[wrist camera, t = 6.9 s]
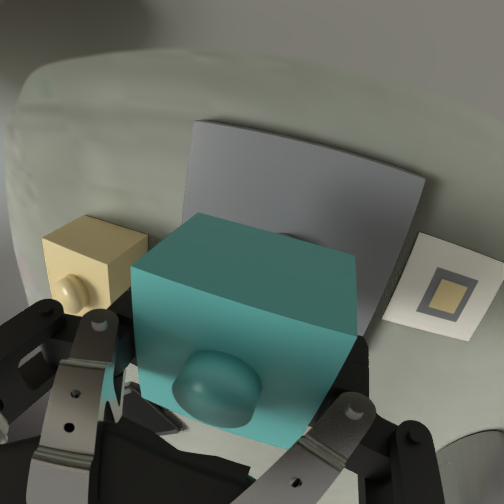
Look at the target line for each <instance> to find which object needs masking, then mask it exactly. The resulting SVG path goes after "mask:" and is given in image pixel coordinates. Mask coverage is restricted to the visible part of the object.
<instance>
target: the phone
mask: <svg viewBox="0 0 504 504" xmlns="http://www.w3.org/2000/svg"><path fill="white" fill-rule="evenodd" d="M157 405H158V404H155V403H153V402H151V401H149V400H147V399H144V398H142V396H141V389H140V385H138V384H137V383H134V382H127V383H125V386H124V396H123V407H122V416H123V417H125V418H127V419H129V420H131V421H133V422H135V423H137V424H140V425H142V426H144V427H146V428H148V429H150V430H152V431H153V432H154V433H156V434H157V435H158V436H160V435H168V434H175V433H178V432H179V431H180V429H181V427H182V424H181V423H180V422H179V421H178V420H177V419H176V418H175V417H174V416H172V415H171V414H170V413H169V412H168V411H167V410H166V409H165V408H163V407H162V406H160V405H159V406H160V407H161V408H162V409H163V410H164V411H162V410H161V409H159V408H158V407H157ZM173 419H174V420H173Z"/></svg>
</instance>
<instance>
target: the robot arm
mask: <svg viewBox="0 0 504 504" xmlns="http://www.w3.org/2000/svg"><path fill="white" fill-rule="evenodd" d="M39 345H40V348H41V352H39V353H38V354H36V355H35V356H34V357H33V358H31V359H30V360H29V361H27V362H26V363H25V364H23V365H22V366H21V367H20V368H18V365H19V362H20V360H21V359H22V358H23V357H25V356H26V355H27V354H28V353H30V352H31V351H33V350H34V349H35V348H37V347H38V346H39ZM368 357H369V353H368V345H367V343H366V341H365V339H364V337H363V336H360V335H357V339H356V341H355V343H354V345H353V347H352V349H351V351H350V352H349V354H348V356H347V358H346V360H345V362H344V364H343V366H342V368H341V370H340V371H339V373H338V375H337V377H336V379H335V381H334V382H333V384H332V386H331V388H330V389H329V391H328V393H327V395H326V396H325V398H324V400H323V402H322V403H321V405H320V407H319V408H318V410H317V412H316V413H315V415H314V417H313V418H312V420H311V422H310V423H309V425H308V426H311V427H312V428H311V429H310V430H309V431H308V432H307V433H306V435H304V436H301V437H300V438H299V439H298V440H297V441H296V442H295V443H294V444H293V445H292V446H291V447H290V448H289V449H288V450H287V452H286V453H285V454H284V455H283V456H282V457H281V458H280V459H279V460H278V461H277V462H275V463H274V464H273V465H272V466H271V467H270V468H269V469H268V470H267V471H266V472H265V473H264V474H263V475H262V476H261V477H260V478H259V479H258V480H256V479H255V478H253V477H251V476H249V475H248V473H249V470H250V467H249V466H246V465H243V464H239V463H236V462H233V461H230V460H227V459H224V458H221V457H218V456H211V455H204V454H197V453H190V452H184V451H180V450H178V449H176V448H175V447H173V446H172V445H171V444H169V443H168V442H166V441H165V440H164V439H162V438H161V437H160V436H158V435H157V434H156V433H154V432H153V431H152V430H150V429H148V428H146V427H144V426H142V425H140V424H137V423H135V422H133V421H131V420H129V419H127V418H125V417H123V416H122V407H123V396H124V386H125V377H126V370H125V368H126V367H127V366H128V365H129V363H131V364H134V365H136V366H138V365H137V356H136V347H135V336H134V324H133V309H132V292H131V286H130V287H129V288H128V290H126V291H125V292H124V293H123V294H122V295H121V296H120V297H119V298H118V299H117V300H115V301H114V302H113V303H112V304H111V305H110V306H109V307H108V308H107V309H100V308H99V309H93V310H90V311H88V312H87V313H85V314H84V315H83V316H76V315H70V314H65V313H64V309H63V306H62V304H61V303H60V302H59V301H57V300H54V299H43V300H40V301H38V302H36V303H34V304H33V305H31V306H30V307H28V308H27V309H25V310H24V311H22V312H20V313H19V314H17V315H16V316H14V317H13V318H11V319H10V320H9V321H7V322H5V323H4V324H2V325H1V326H0V504H316V503H317V502H318V500H319V499H320V498H321V497H322V496H323V494H324V493H325V492H326V491H327V489H328V488H329V487H330V486H331V484H332V483H333V482H334V480H335V479H336V478H337V477H338V475H339V474H340V473H341V471H342V470H343V468H346V469H348V470H350V471H352V472H354V473H356V474H358V492H359V504H504V434H503V433H502V432H499V431H487V432H482V433H477V434H474V435H471V436H467V437H465V438H463V439H460V440H458V441H456V442H454V443H452V444H450V445H448V446H446V447H445V448H443V449H442V450H440V451H439V452H438V453H436V452H435V448H434V443H433V439H432V436H431V433H430V431H429V430H428V428H427V427H426V426H425V425H423V424H422V423H420V422H418V421H414V420H408V421H404V422H402V423H401V424H400V425H399V426H398V425H395V424H393V423H391V422H389V421H387V420H385V419H383V418H382V417H380V416H379V415H378V414H377V413H376V408H375V405H374V404H373V402H372V401H371V400H370V399H369V367H368V366H369V359H368ZM51 388H52V390H51V395H50V398H49V402H48V406H47V410H46V415H45V419H44V424H43V428H42V433H41V435H39V436H35V437H31V438H27V439H23V440H18V441H14V442H10V443H6V442H7V440H8V435H7V432H8V425H9V424H11V423H12V422H13V421H14V420H15V419H16V418H17V417H18V416H20V415H21V414H22V413H23V412H24V411H25V410H27V409H28V408H29V407H30V406H31V405H32V404H33V403H35V402H36V401H37V400H38V399H39V398H40V397H42V396H43V395H44V394H45V393H46V392H48V391H49V390H50V389H51ZM4 443H5V444H4Z"/></svg>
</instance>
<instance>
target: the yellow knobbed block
mask: <svg viewBox="0 0 504 504" xmlns="http://www.w3.org/2000/svg"><path fill="white" fill-rule="evenodd" d="M42 241H43V249H44V255H45V262H46V268H47V273H48V279H49V284H50V289H51V294H52V298H53V299H54V300H57V301H59V302H60V303H61V304H62V306H63V309H64V313H65V314H70V315H76V316H83V315H84V314H85V313H87V312H88V311H90V310H93V309H99V308H100V309H107V308H108V307H109V306H110V305H111V304H112V303H113V302H114V301H115V300H117V299H118V298H119V297H120V296H121V295H122V294H123V293H124V292H125V291H126V290H128V288H129V287H130V286H131V265H133V264H134V263H135V262H136V261H137V260H139V259H140V258H141V257H142V256H144V255H145V254H146V253H147V252H148V235H146V234H143V233H140V232H137V231H134V230H130V229H127V228H124V227H121V226H117V225H114V224H111V223H108V222H105V221H101V220H98V219H95V218H92V217H89V216H86V215H83V216H82V217H80V218H78V219H76V220H74V221H72V222H70V223H68V224H66V225H64V226H63V227H61V228H59V229H57V230H55V231H53V232H52V233H50V234H48V235H46V236H44V237H43V238H42Z"/></svg>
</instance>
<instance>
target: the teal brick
mask: <svg viewBox="0 0 504 504" xmlns="http://www.w3.org/2000/svg"><path fill="white" fill-rule="evenodd" d="M131 292H132V309H133V324H134V336H135V347H136V356H137V365H138V374H139V382H140V389H141V396H142V398H144V399H147V400H149V401H151V402H153V403H155V404H158V405H160V406H162V407H165V408H167V409H169V410H172V411H174V412H176V413H179V414H181V415H184V416H186V417H189V418H191V419H194V420H197V421H199V422H202V423H205V424H207V425H210V426H213V427H216V428H219V429H221V430H224V431H227V432H230V433H233V434H236V435H240V436H243V437H246V438H249V439H252V440H256V441H259V442H263V443H266V444H270V445H274V446H277V447H281V448H285V449H289V448H290V447H291V446H292V445H293V444H294V443H295V442H296V441H297V440H298V439H299V438H300V437H301V436H302V434H303V433H304V431H305V430H306V428H307V426H308V425H309V423H310V422H311V420H312V418H313V417H314V415H315V413H316V412H317V410H318V408H319V407H320V405H321V403H322V402H323V400H324V398H325V396H326V395H327V393H328V391H329V389H330V388H331V386H332V384H333V382H334V381H335V379H336V377H337V375H338V373H339V371H340V370H341V368H342V366H343V364H344V362H345V360H346V358H347V356H348V354H349V352H350V351H351V349H352V347H353V345H354V343H355V341H356V339H357V288H356V265H355V256H354V255H351V254H347V253H344V252H340V251H337V250H333V249H330V248H326V247H323V246H319V245H316V244H312V243H309V242H305V241H302V240H298V239H295V238H291V237H288V236H284V235H280V234H277V233H273V232H270V231H266V230H262V229H259V228H255V227H251V226H248V225H244V224H240V223H237V222H233V221H229V220H225V219H222V218H218V217H214V216H210V215H207V214H203V213H199V212H198V213H197V214H195V215H194V216H193V217H191V218H190V219H189V220H188V221H186V222H185V223H184V224H182V225H181V226H180V227H179V228H177V229H176V230H175V231H173V232H172V233H171V234H170V235H168V236H167V237H166V238H165V239H163V240H162V241H161V242H160V243H158V244H157V245H156V246H155V247H153V248H152V249H151V250H150V251H148V252H147V253H146V254H145V255H144V256H142V257H141V258H140V259H139V260H137V261H136V262H135V263H134V264H133V265H131Z"/></svg>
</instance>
